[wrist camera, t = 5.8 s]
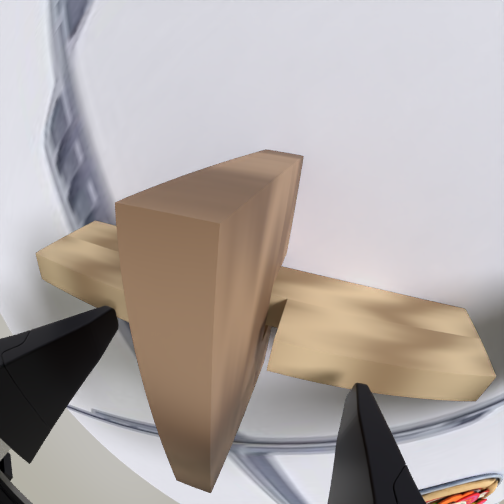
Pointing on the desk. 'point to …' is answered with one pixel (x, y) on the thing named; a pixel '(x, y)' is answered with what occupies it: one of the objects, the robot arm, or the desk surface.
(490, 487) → the toy pizza
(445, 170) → the desk surface
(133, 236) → the brown tapered flat block
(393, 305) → the oak board
